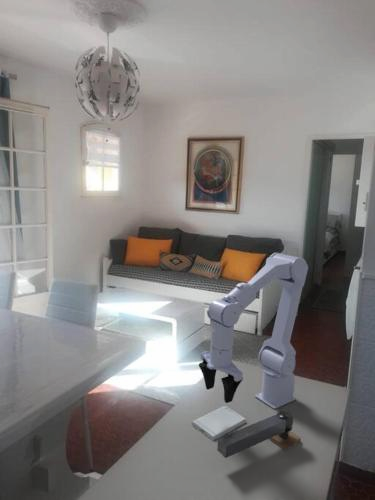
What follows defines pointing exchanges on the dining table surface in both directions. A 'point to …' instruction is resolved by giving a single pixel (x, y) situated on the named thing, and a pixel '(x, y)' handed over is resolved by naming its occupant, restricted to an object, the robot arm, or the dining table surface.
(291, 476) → the dining table surface
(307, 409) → the dining table surface
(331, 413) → the dining table surface
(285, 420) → the swing bar
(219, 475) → the dining table surface
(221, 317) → the robot arm
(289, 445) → the post mount
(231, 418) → the hard drive
